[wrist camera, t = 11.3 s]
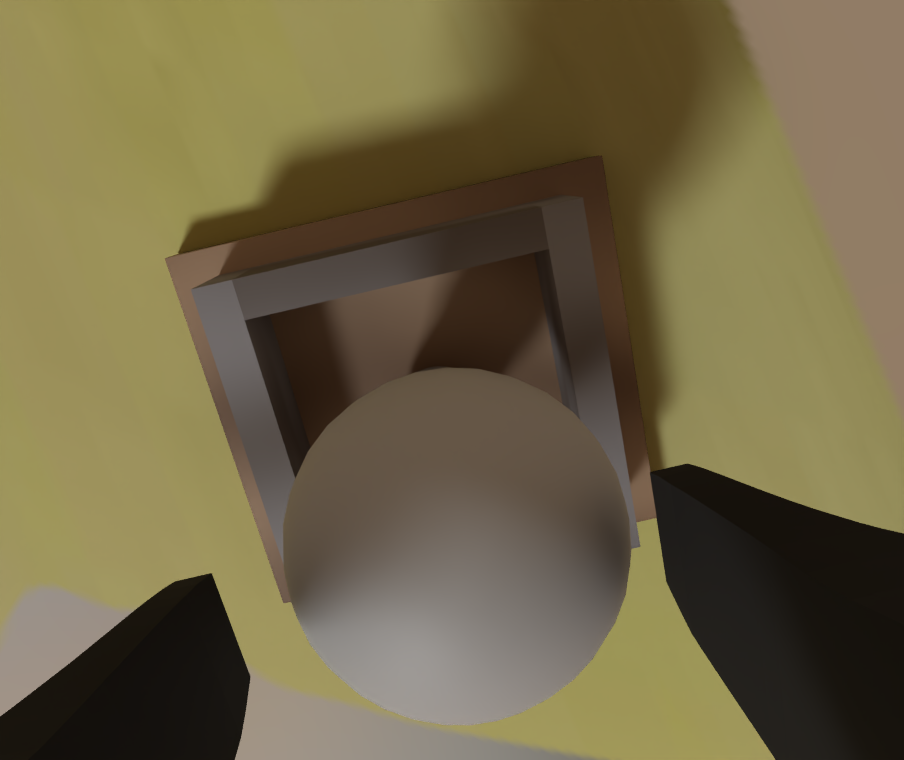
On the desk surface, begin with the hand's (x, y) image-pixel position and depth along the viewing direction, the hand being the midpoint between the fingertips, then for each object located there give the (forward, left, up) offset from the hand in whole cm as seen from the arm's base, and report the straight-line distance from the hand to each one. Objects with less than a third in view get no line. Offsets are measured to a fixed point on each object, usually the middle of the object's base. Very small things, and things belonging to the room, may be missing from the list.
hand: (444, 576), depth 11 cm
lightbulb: (0, 0, -10) cm, 10 cm away
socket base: (0, 0, -10) cm, 10 cm away
